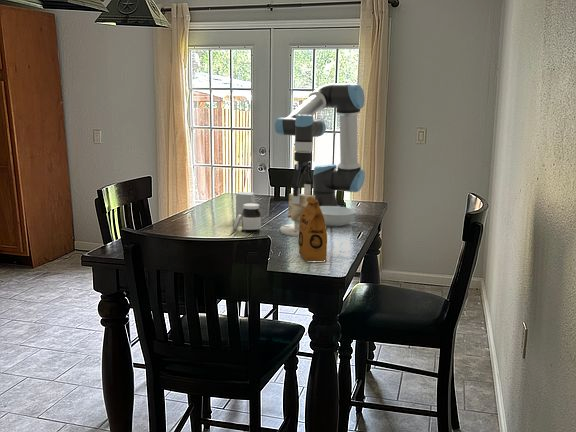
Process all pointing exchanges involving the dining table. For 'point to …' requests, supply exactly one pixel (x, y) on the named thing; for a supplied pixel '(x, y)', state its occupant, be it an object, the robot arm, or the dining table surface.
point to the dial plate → (291, 229)
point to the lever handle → (297, 206)
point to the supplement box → (243, 201)
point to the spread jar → (249, 218)
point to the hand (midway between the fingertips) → (301, 201)
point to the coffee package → (312, 232)
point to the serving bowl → (337, 215)
